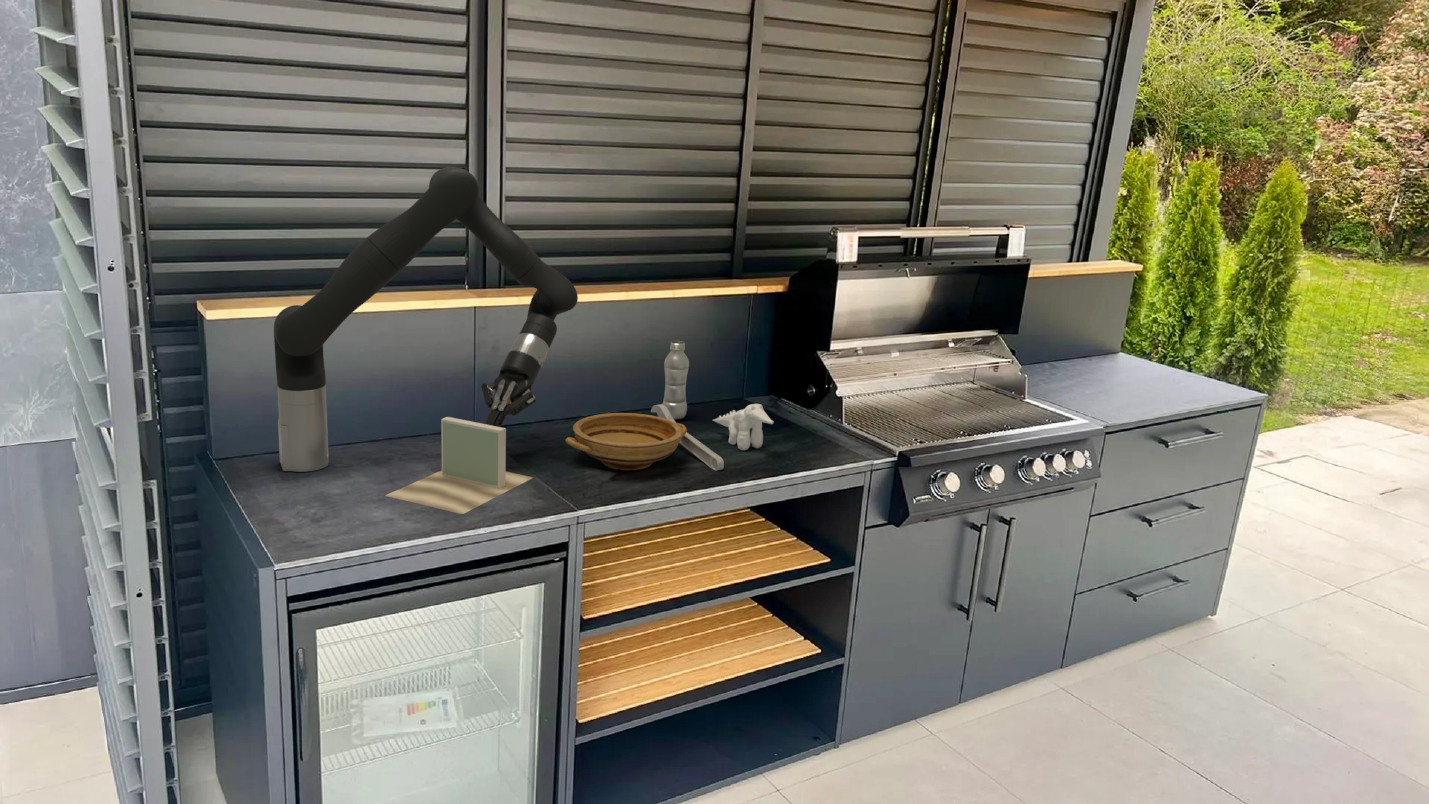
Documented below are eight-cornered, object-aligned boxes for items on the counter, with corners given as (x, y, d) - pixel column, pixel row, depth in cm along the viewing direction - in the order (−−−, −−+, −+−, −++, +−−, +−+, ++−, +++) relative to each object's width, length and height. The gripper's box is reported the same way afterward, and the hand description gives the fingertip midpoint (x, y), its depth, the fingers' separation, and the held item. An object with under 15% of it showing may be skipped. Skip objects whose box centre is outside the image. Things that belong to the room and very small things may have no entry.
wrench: (715, 484, 232) (648, 431, 255) (722, 482, 233) (654, 430, 256) (719, 451, 229) (651, 400, 252) (726, 449, 230) (658, 400, 253)
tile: (441, 475, 213) (440, 419, 210) (447, 472, 215) (447, 416, 212) (499, 488, 208) (499, 431, 205) (505, 485, 210) (505, 428, 207)
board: (462, 521, 194) (462, 514, 194) (384, 502, 201) (384, 495, 201) (533, 484, 216) (533, 477, 215) (461, 468, 222) (461, 461, 222)
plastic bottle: (687, 416, 271) (692, 340, 266) (684, 423, 265) (688, 346, 260) (663, 413, 272) (667, 338, 267) (659, 421, 265) (663, 343, 260)
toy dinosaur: (760, 458, 239) (761, 410, 237) (700, 439, 258) (700, 394, 256) (783, 454, 243) (784, 407, 241) (723, 435, 262) (723, 392, 260)
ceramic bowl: (654, 438, 251) (656, 406, 249) (712, 469, 232) (714, 434, 230) (542, 454, 234) (542, 420, 232) (594, 489, 215) (595, 452, 213)
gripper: (491, 345, 222) (456, 413, 214) (545, 354, 217) (511, 424, 209) (505, 364, 228) (472, 432, 220) (558, 373, 223) (525, 443, 215)
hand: (491, 428), depth 215 cm, fingers closed
